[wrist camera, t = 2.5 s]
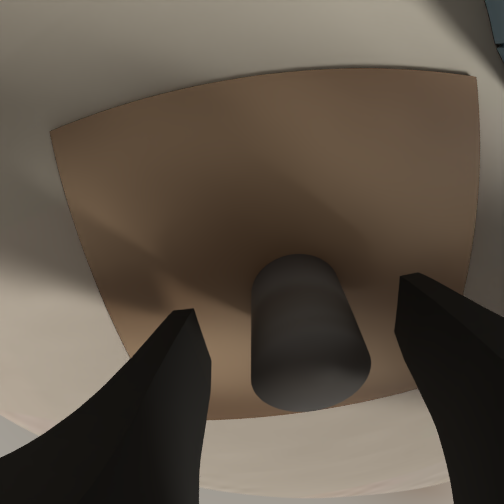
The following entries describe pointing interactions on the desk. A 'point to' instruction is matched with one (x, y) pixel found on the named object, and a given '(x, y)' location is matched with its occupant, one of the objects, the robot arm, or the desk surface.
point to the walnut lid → (279, 222)
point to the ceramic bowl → (497, 22)
